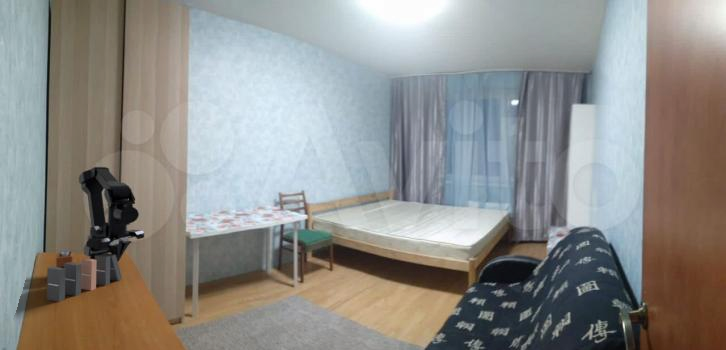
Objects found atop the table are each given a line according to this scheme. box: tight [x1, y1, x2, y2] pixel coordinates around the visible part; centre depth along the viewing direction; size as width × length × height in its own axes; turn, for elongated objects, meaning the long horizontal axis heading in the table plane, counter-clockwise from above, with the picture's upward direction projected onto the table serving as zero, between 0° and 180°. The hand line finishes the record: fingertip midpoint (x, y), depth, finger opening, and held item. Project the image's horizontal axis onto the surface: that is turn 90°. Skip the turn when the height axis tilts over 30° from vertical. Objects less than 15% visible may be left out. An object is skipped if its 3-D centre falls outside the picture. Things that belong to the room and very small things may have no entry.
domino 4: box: [95, 255, 111, 286], centre depth 124 cm, size 2×5×10 cm, turn 76°
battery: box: [55, 250, 74, 268], centre depth 127 cm, size 4×7×10 cm, turn 37°
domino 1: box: [46, 266, 66, 303], centre depth 110 cm, size 2×5×10 cm, turn 76°
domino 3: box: [79, 257, 97, 291], centre depth 120 cm, size 2×5×10 cm, turn 75°
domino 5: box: [102, 253, 123, 282], centre depth 128 cm, size 2×5×10 cm, turn 75°
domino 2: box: [64, 262, 82, 297], centre depth 115 cm, size 2×5×10 cm, turn 76°
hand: (116, 261), depth 130 cm, fingers closed
